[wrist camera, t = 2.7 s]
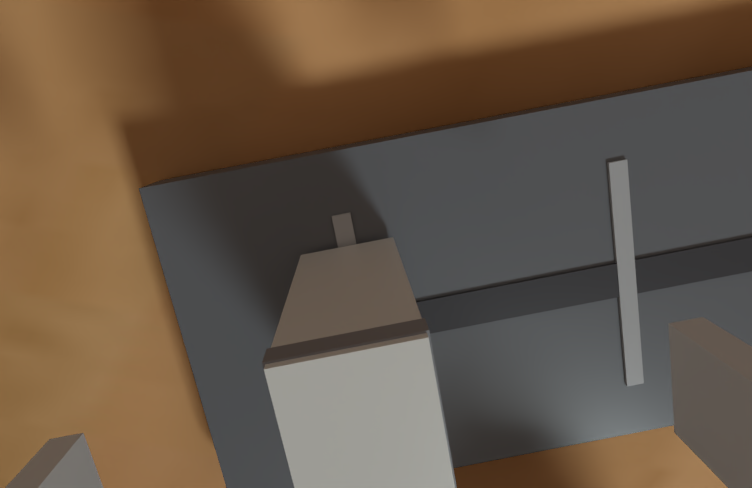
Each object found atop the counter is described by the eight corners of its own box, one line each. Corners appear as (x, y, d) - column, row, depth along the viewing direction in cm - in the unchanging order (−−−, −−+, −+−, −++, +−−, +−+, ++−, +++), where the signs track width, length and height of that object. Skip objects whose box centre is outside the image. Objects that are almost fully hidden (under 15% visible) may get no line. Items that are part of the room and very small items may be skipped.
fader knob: (337, 420, 19) (330, 635, 11) (298, 253, 18) (260, 367, 10) (425, 404, 19) (478, 605, 11) (394, 235, 18) (431, 334, 10)
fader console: (243, 475, 22) (232, 514, 20) (160, 180, 19) (136, 189, 17) (979, 332, 22) (1045, 355, 20) (1007, 17, 19) (1087, 6, 17)
